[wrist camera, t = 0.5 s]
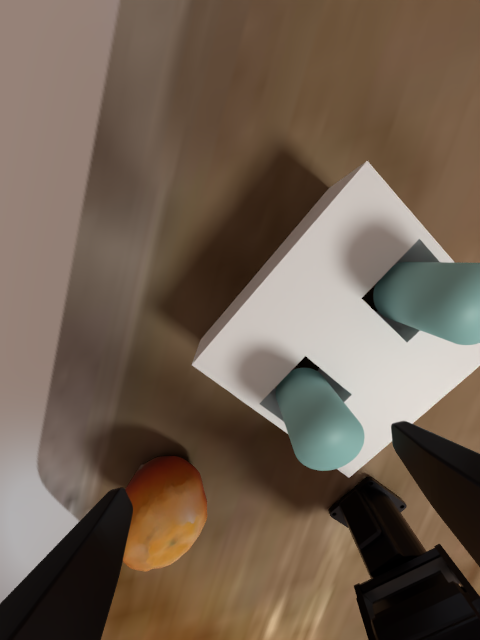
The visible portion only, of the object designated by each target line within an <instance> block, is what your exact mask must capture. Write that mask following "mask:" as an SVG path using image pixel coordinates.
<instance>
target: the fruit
mask: <svg viewBox="0 0 480 640" xmlns="http://www.w3.org/2000/svg"><path fill="white" fill-rule="evenodd" d="M125 490H126V492H127V494H128V496H129V498H130V500H131V502H132V505H133V515H132V520H131V524H130V529H129V534H128V538H127V543H126V548H125V552H124V557H123V562H124V563H125V564H126V565H127V566H128V567H130V568H132V569H136V570H141V571H149V570H151V569H153V568H162V567H164V566H168V565H170V564H172V563H173V562H175V561H176V560H178V559H179V558H180V557H181V556H182V555H183V554H184V553H186V552H187V551H188V550H189V549H190V547H191V546H192V544H193V543H194V542H195V540H196V539H197V538H198V536H199V534H200V533H201V531H202V528H203V526H204V524H205V522H206V519H207V500H206V496H205V492H204V489H203V484H202V480H201V476H200V473H199V472H198V470H197V469H196V468H195V467H194V466H193V465H191V464H190V463H189V462H188V461H186V460H184V459H183V458H181V457H177V456H161V457H156V458H154V459H152V460H150V461H148V462H147V463H145V464H144V465H142V464H141V465H140V467H139V469H138V470H137V471H136V473H135V475H134V476H133V478H132V479H131V481H130V482H129V484H128V486H127V487H126V489H125Z"/></svg>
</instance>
